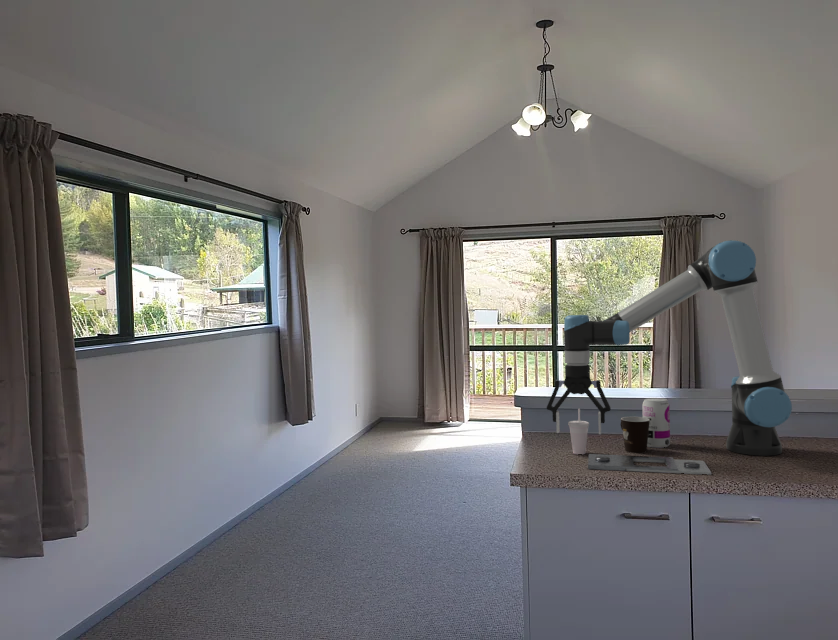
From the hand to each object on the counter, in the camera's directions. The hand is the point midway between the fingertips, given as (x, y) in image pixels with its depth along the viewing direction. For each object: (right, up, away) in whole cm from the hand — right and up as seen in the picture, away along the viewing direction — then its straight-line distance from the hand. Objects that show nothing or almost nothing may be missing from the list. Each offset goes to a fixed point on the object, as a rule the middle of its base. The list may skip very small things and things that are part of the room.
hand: (578, 432), depth 191 cm
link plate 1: (+11, -6, -16) cm, 20 cm away
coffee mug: (+19, -6, +3) cm, 20 cm away
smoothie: (0, -7, 0) cm, 7 cm away
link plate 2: (+20, -6, -18) cm, 28 cm away
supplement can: (+27, -6, +8) cm, 29 cm away
